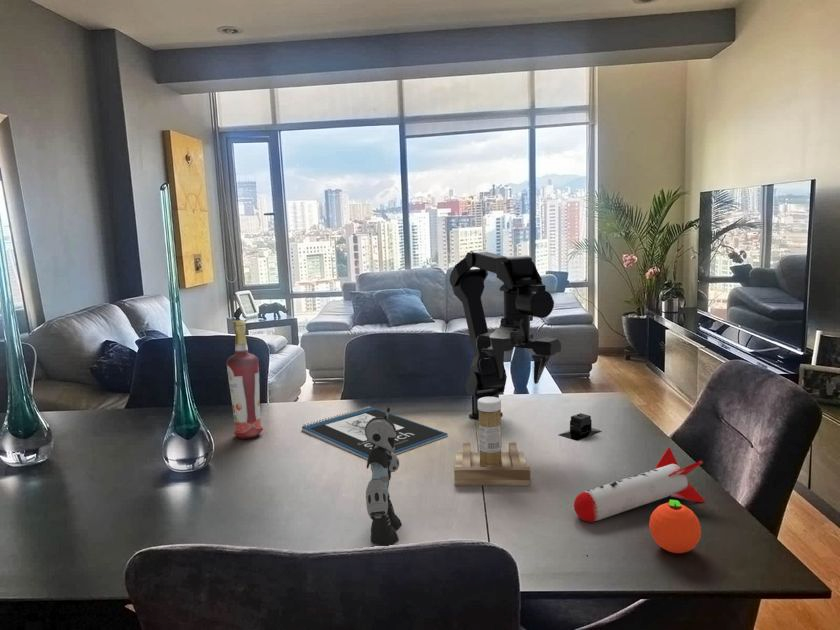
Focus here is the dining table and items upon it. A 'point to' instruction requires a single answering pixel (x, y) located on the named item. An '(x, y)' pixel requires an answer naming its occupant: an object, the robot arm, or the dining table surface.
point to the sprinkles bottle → (490, 431)
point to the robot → (381, 480)
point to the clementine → (675, 527)
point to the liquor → (244, 386)
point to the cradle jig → (491, 468)
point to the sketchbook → (352, 432)
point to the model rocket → (638, 490)
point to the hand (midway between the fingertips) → (517, 380)
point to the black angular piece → (580, 428)
